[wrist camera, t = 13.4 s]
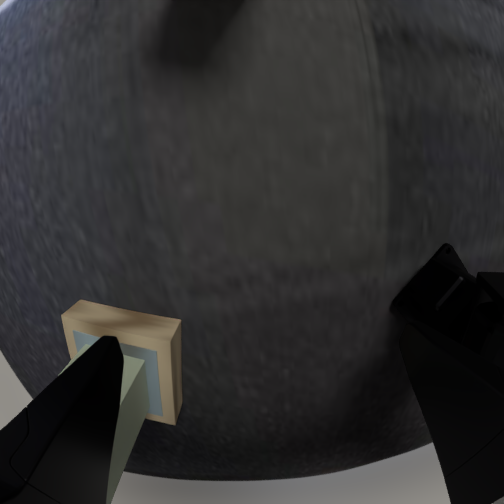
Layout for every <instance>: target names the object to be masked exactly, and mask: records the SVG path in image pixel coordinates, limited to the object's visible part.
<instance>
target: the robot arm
mask: <svg viewBox="0 0 504 504" xmlns="http://www.w3.org/2000/svg"><path fill="white" fill-rule="evenodd" d="M447 248H448V251H447V252H446V249H447ZM400 301H402V302H401V303H400V304H398V303H399V302H400ZM393 305H394V307H395V308H396V309H397V310H398V311H399V312H400V313H401V314H402V315H403V317H404V318H405V319H406V320H407V321H408V322H409V323H408V324H407V325H406V327H405V329H404V331H403V334H402V336H401V338H400V341H399V347H400V350H401V353H402V356H403V359H404V362H405V365H406V369H407V372H408V375H409V379H410V382H411V384H412V387H413V390H414V392H415V395H416V397H417V400H418V402H419V405H420V407H421V410H422V413H423V415H424V418H425V421H426V424H427V426H428V429H429V432H430V435H431V438H432V441H433V443H434V446H435V449H436V453H437V455H438V459H439V462H440V465H441V468H442V472H443V475H444V479H445V483H446V486H447V490H448V494H449V498H450V502H451V504H492V503H493V504H504V273H503V272H478V273H477V277H476V278H475V277H474V276H472V275H471V274H469V273H468V272H467V270H466V268H465V267H464V265H463V263H462V261H461V260H460V258H459V257H458V255H457V253H456V252H455V250H454V248H453V247H452V246H451V245H450V244H448V243H445V244H443V245H442V246H441V248H440V249H439V250H438V251H437V252H436V254H435V255H434V256H433V257H432V258H431V259H430V260H429V261H428V262H427V264H426V265H425V266H424V267H423V268H422V269H421V270H420V272H419V273H418V274H417V275H416V276H415V277H414V278H413V279H412V280H411V282H410V283H409V284H408V285H407V286H406V287H405V288H404V289H403V290H402V291H401V292H400V293H399V295H398V296H397V297H396V298H395V299H394V301H393ZM123 368H124V356H123V353H122V350H121V347H120V344H119V341H118V339H117V337H116V336H108V335H104V336H102V337H101V338H99V339H98V340H97V341H96V342H95V343H94V344H93V345H92V346H90V347H89V348H88V349H87V350H86V351H85V352H84V353H83V354H82V355H81V356H79V357H78V358H77V359H76V360H75V361H74V362H73V363H72V364H71V365H70V366H69V367H67V368H66V369H65V370H64V371H63V372H62V373H61V374H60V375H59V376H58V377H57V378H56V379H55V380H53V381H52V382H51V383H50V384H49V385H48V386H47V387H46V388H45V389H44V390H43V391H42V392H41V393H40V394H39V395H38V396H37V397H36V398H34V399H33V400H32V401H31V402H30V403H29V404H28V405H27V408H26V407H25V408H24V409H23V410H22V411H21V412H20V413H19V414H18V415H17V416H16V417H15V418H14V419H13V420H11V421H10V422H9V423H8V424H7V425H6V426H5V427H4V428H2V429H1V430H0V504H106V499H107V489H108V480H109V472H110V464H111V457H112V450H113V444H114V438H115V432H116V426H117V420H118V415H119V409H120V400H121V388H122V378H123Z"/></svg>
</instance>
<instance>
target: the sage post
mask: <svg viewBox="0 0 504 504" xmlns="http://www.w3.org/2000/svg"><path fill="white" fill-rule="evenodd" d="M90 346H91V345H88V344H85V345H84V346H83V347H82V349H81V350H80V351H79V352H78V353H77V354H76V355H75V357H74V358H73V359H72V360H71V361H70V362H69V364H68V365H67V366H66V367H65V368H64V369H63V371H64V370H65V369H66V368H67V367H69V366H70V365H71V364H72V363H73V362H74V361H75V360H76V359H77V358H78V357H79V356H81V355H82V354H83V353H84V352H85V351H86V350H87V349H88V348H89V347H90ZM123 356H124V368H123V378H122V388H121V400H120V409H119V415H118V420H117V426H116V432H115V438H114V444H113V450H112V457H111V464H110V472H109V480H108V489H107V499H106V504H111V501H112V499H113V496H114V493H115V491H116V488H117V486H118V483H119V480H120V478H121V475H122V473H123V470H124V468H125V465H126V463H127V460H128V458H129V455H130V453H131V451H132V448H133V446H134V443H135V441H136V438H137V436H138V433H139V431H140V429H141V426H142V424H143V421H144V419H145V417H146V414H147V412H148V410H149V407H150V403H149V395H148V387H147V377H146V367H145V360H142V359H138V358H134V357H130V356H126V355H123ZM63 371H62V372H63ZM62 372H61V373H62ZM61 373H60V374H61ZM60 374H59V375H60ZM59 375H58V376H59Z"/></svg>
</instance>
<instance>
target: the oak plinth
mask: <svg viewBox="0 0 504 504" xmlns="http://www.w3.org/2000/svg"><path fill="white" fill-rule="evenodd" d="M61 317H62V322H63V327H64V331H65V336H66V340H67V345H68V349H69V353H70V357H71V360H72V359H73V358H74V357H75V355H76V354H77V353H78V352H79V351H80V350H81V349H82V347H83V346H84V345H85V344H88V345H91V346H92V345H93V344H94V343H95V342H96V341H97V340H98V339H99V338H101V337H102V336H104V335H108V336H116V337H117V339H118V341H119V344H120V347H121V350H122V353H123V355H126V356H130V357H134V358H138V359H142V360H145V367H146V377H147V387H148V395H149V403H150V407H149V410H148V412H147V414H146V417H145V418H146V419H150V420H154V421H158V422H163V423H167V424H172V425H176V422H177V418H178V415H179V412H180V409H181V406H182V402H183V399H182V369H181V320H180V319H174V318H168V317H162V316H156V315H151V314H146V313H140V312H135V311H130V310H125V309H121V308H116V307H111V306H107V305H102V304H98V303H93V302H89V301H85V300H81V299H80V300H79V301H78V302H77V303H76V304H74V305H73V306H72V307H71V308H70V309H68V310H67V311H66V312H65V313H64V314H63V315H61Z"/></svg>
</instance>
